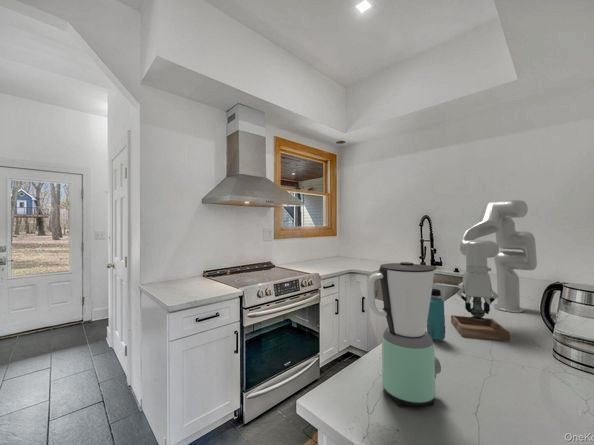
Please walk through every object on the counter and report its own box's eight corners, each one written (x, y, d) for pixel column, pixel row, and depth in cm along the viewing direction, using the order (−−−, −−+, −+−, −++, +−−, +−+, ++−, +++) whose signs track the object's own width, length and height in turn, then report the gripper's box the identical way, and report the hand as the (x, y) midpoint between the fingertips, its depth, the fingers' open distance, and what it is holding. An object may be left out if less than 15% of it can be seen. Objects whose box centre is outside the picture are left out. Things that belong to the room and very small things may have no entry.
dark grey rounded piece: (488, 321, 109) (488, 292, 109) (473, 320, 110) (472, 292, 111) (481, 317, 115) (481, 289, 115) (467, 316, 116) (466, 288, 116)
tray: (451, 322, 123) (451, 315, 123) (492, 326, 118) (492, 318, 118) (461, 336, 107) (461, 328, 107) (509, 341, 102) (509, 332, 102)
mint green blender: (423, 378, 77) (421, 259, 78) (455, 409, 64) (452, 266, 65) (360, 382, 76) (359, 260, 76) (380, 415, 62) (378, 267, 63)
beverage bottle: (449, 343, 100) (448, 291, 101) (431, 343, 101) (430, 291, 101) (440, 336, 107) (439, 287, 107) (423, 336, 107) (422, 287, 108)
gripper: (496, 269, 114) (497, 311, 114) (451, 268, 119) (452, 308, 119) (504, 272, 107) (505, 317, 107) (456, 270, 112) (457, 313, 112)
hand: (477, 311), depth 113 cm, fingers closed on dark grey rounded piece, 5 cm apart
